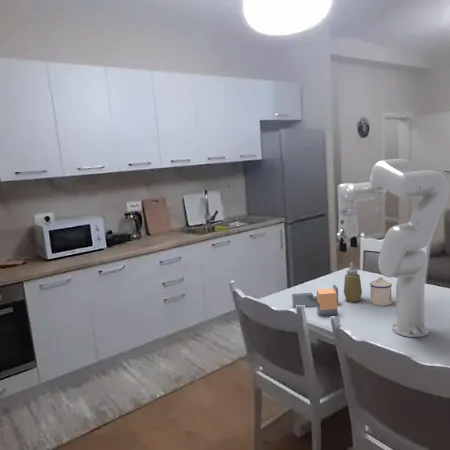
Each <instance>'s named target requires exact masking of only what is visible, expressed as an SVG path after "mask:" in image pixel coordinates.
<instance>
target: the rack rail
mask: <svg viewBox="0 0 450 450" xmlns="http://www.w3.org/2000/svg"><path fill="white" fill-rule="evenodd" d="M332 288H333V289H334V291H335V292H336V294H337V307H338V306H340V303H339V288H338V286H337V285H335V284H332ZM291 299H292V300H291V301H292V308H293V309H294V308H295V307H296V305H305V307H304V308H311V307H312V308H313V307H317V295H314V294H313V293H312V292H304V293H303V292H302V293H301V292H300V293H291ZM295 309H296V308H295Z"/></svg>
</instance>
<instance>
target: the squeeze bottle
mask: <svg viewBox="0 0 450 450" xmlns="http://www.w3.org/2000/svg"><path fill="white" fill-rule="evenodd" d="M343 283H344V284H343V294H344V297H345V299H346V301H348V302H349V303H350V302H351V303H357V302H360V301H361V297H362V296H363V295H362V294H363V290H362V283H361V275H360V274H359V273H358V269H356V267H355V264H354V262H353V261H351V262H349V267H348V269H346V274H345V275H344V282H343Z"/></svg>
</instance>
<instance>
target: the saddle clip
mask: <svg viewBox="0 0 450 450" xmlns="http://www.w3.org/2000/svg"><path fill="white" fill-rule="evenodd" d="M315 291H316V296H317V301H318V302H319V304H320V310H328V309H337V310H338V306H337V294H336V292H335V291H334V289H333V287H331V288H318V289H316V290H315Z"/></svg>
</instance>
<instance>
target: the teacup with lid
mask: <svg viewBox="0 0 450 450" xmlns="http://www.w3.org/2000/svg"><path fill="white" fill-rule="evenodd" d="M369 286H370V303H371V304H372V305H375V306H381V307H382V306H383V307H385V306H389V305H391V304H392V300H393V299H392V286H393V284H392V282H391V281H390V280H386V279H384V277H383V276H378V278H377V279H374V280H372V281H371V282H370V283H369Z"/></svg>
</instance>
